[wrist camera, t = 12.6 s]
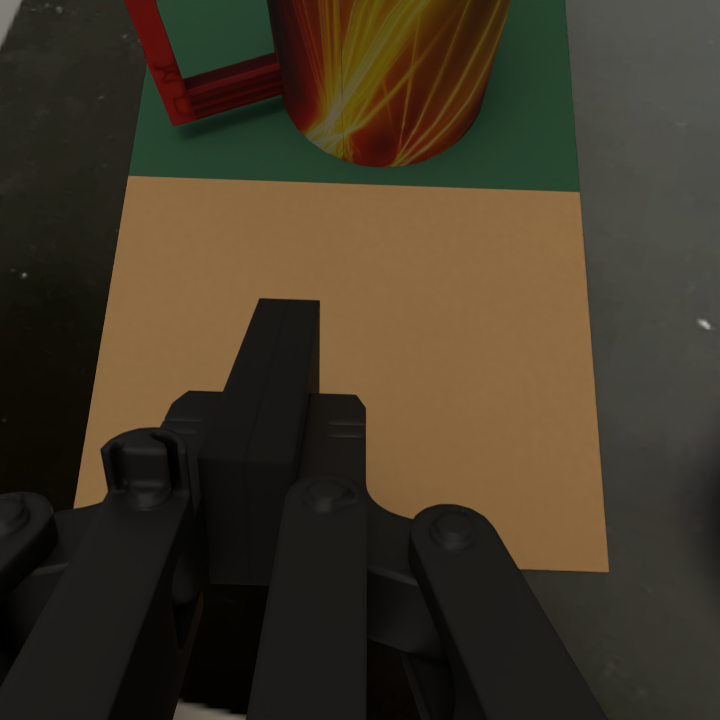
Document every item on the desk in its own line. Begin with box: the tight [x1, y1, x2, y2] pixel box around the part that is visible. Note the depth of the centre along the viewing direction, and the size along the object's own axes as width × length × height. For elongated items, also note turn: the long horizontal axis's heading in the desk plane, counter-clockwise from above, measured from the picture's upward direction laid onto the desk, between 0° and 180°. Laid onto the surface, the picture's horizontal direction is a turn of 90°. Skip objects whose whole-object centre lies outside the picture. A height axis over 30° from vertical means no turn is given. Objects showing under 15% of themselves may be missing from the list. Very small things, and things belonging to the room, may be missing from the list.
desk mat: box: [74, 0, 609, 572], centre depth 29 cm, size 20×32×1 cm, turn 178°
